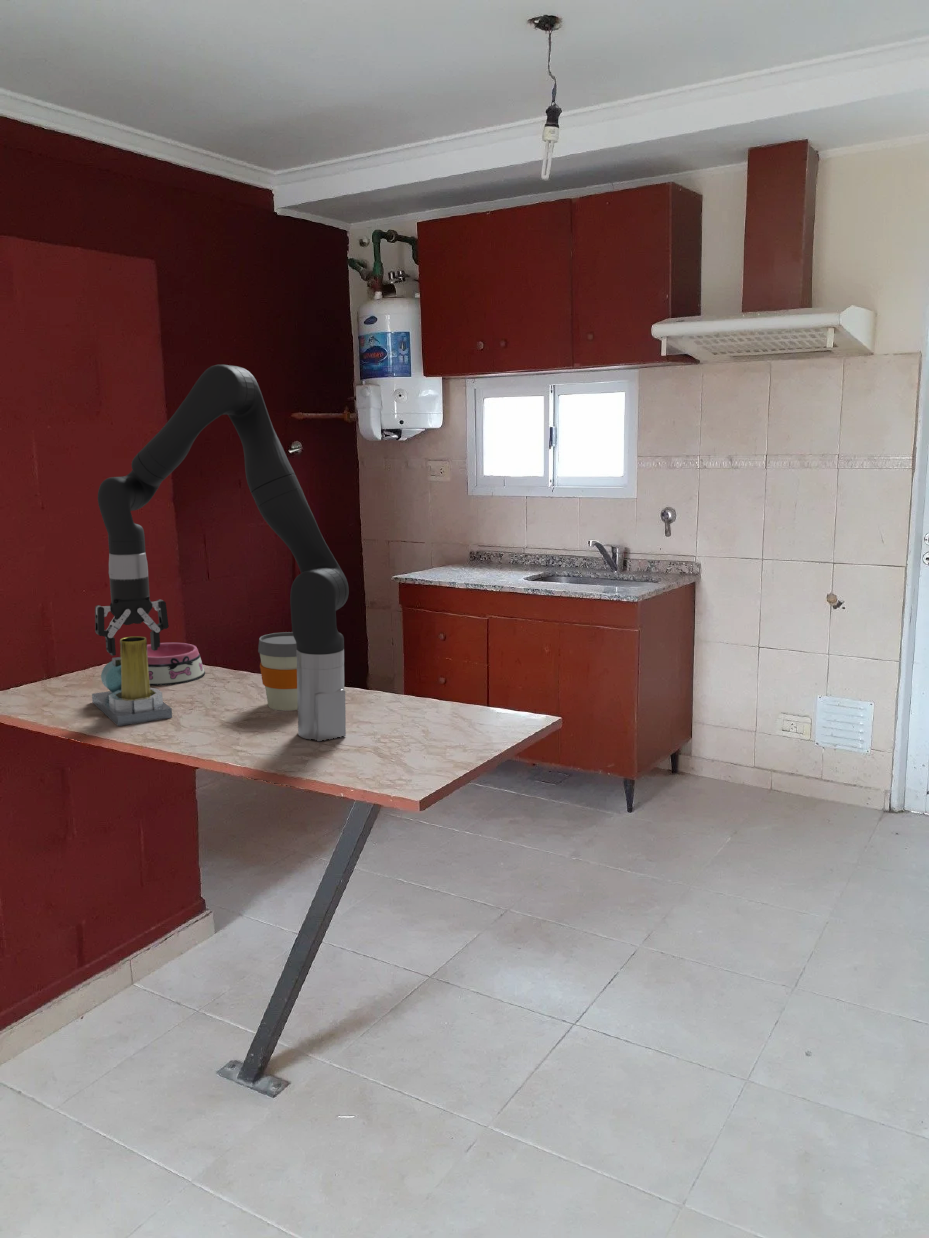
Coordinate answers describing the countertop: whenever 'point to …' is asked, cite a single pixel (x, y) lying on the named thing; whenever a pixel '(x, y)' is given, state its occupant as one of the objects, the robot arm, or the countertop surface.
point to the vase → (134, 668)
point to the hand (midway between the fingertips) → (134, 652)
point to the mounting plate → (129, 716)
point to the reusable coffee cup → (279, 670)
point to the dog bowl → (174, 664)
